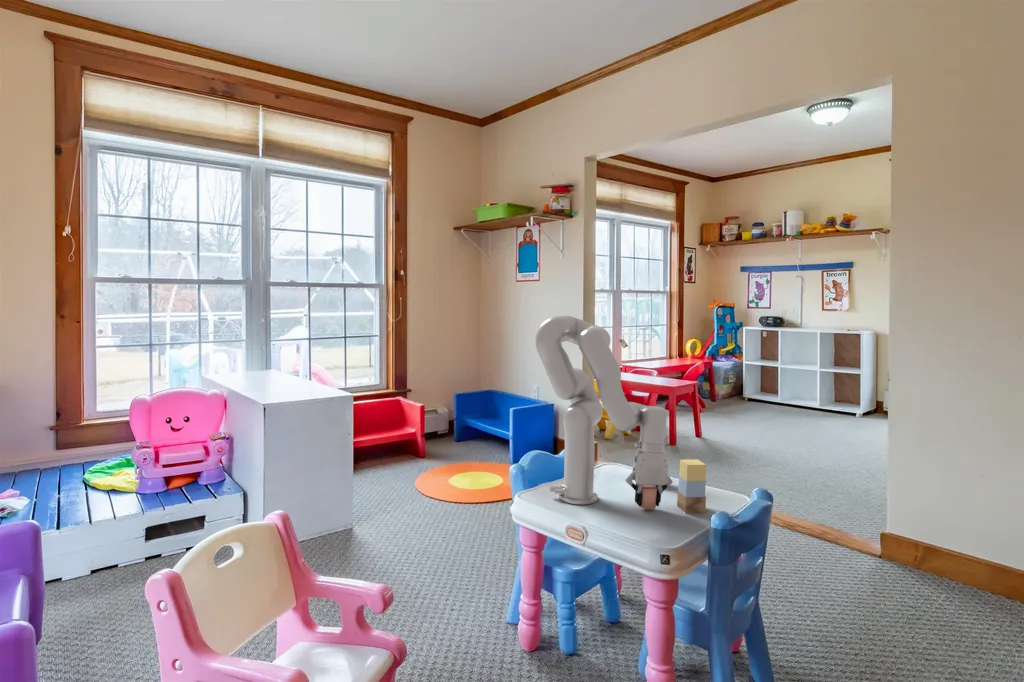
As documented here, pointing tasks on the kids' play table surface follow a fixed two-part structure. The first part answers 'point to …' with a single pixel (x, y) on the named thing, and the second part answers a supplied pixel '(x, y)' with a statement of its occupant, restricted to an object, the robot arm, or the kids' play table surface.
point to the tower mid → (692, 488)
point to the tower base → (691, 503)
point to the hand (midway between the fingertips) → (647, 503)
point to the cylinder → (648, 497)
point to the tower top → (692, 470)
